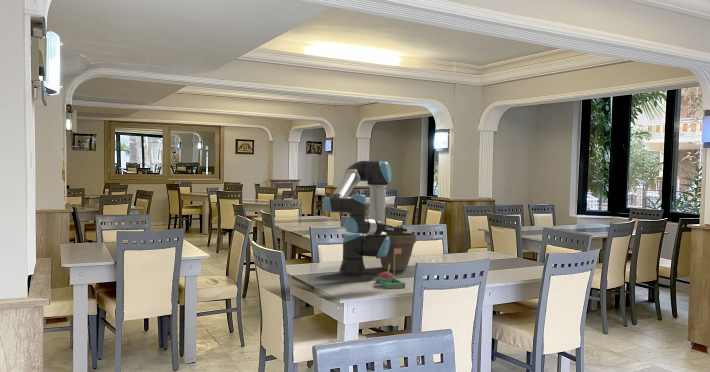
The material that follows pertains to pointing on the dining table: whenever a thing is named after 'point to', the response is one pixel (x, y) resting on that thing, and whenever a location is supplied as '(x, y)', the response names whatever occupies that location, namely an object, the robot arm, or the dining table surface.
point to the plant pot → (399, 242)
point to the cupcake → (385, 277)
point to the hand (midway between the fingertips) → (410, 230)
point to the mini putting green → (395, 282)
